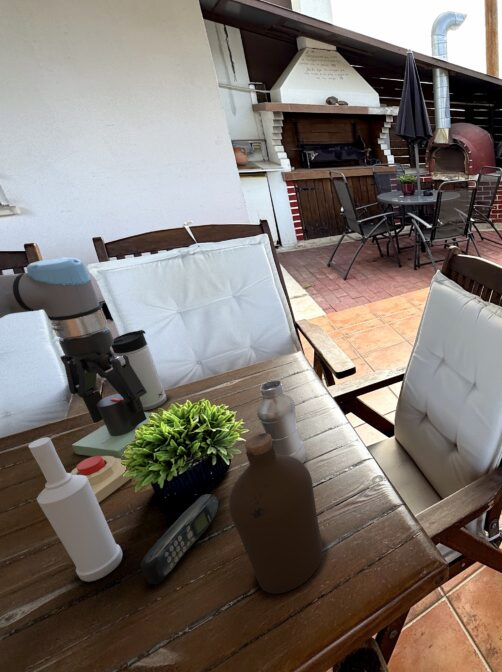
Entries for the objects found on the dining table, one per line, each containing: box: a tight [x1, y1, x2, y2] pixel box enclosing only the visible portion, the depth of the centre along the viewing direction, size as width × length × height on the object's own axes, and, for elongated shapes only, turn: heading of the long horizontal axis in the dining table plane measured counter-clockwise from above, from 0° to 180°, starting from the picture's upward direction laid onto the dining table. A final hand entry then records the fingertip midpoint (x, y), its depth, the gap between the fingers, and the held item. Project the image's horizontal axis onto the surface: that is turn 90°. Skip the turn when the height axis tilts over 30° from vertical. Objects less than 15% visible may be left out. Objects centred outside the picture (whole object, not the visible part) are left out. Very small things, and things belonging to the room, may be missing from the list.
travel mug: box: [110, 329, 168, 412], centre depth 101 cm, size 6×7×20 cm
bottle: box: [28, 436, 123, 582], centre depth 60 cm, size 5×5×25 cm
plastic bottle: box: [256, 379, 307, 464], centre depth 81 cm, size 6×7×20 cm
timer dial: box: [97, 393, 137, 436], centre depth 90 cm, size 5×5×8 cm
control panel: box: [71, 411, 152, 459], centre depth 92 cm, size 12×12×3 cm
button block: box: [70, 456, 133, 504], centre depth 79 cm, size 10×9×4 cm
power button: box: [75, 456, 105, 476], centre depth 78 cm, size 4×4×2 cm
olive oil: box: [228, 432, 324, 595], centre depth 60 cm, size 11×11×25 cm
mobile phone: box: [140, 493, 219, 585], centre depth 68 cm, size 5×3×15 cm
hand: (120, 420), depth 90 cm, fingers open, 9 cm apart
